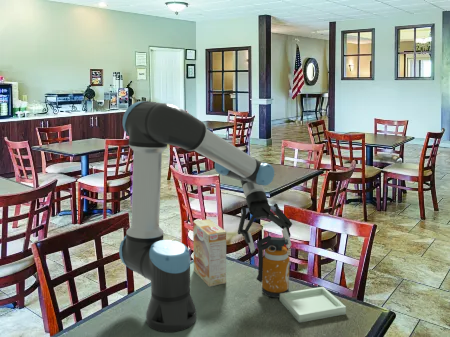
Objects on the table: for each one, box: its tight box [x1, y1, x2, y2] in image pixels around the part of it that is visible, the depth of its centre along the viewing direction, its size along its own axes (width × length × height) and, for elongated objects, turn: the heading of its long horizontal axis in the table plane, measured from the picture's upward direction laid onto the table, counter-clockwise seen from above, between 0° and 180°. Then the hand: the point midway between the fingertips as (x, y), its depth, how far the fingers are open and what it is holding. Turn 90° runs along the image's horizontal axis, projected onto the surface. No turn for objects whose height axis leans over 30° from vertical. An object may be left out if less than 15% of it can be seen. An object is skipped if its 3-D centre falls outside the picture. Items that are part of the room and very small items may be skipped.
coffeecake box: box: [192, 218, 227, 287], centre depth 166 cm, size 15×7×20 cm, turn 25°
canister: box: [256, 235, 291, 298], centre depth 154 cm, size 9×11×20 cm
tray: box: [279, 286, 347, 324], centre depth 146 cm, size 16×14×2 cm
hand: (271, 248), depth 158 cm, fingers open, 13 cm apart
